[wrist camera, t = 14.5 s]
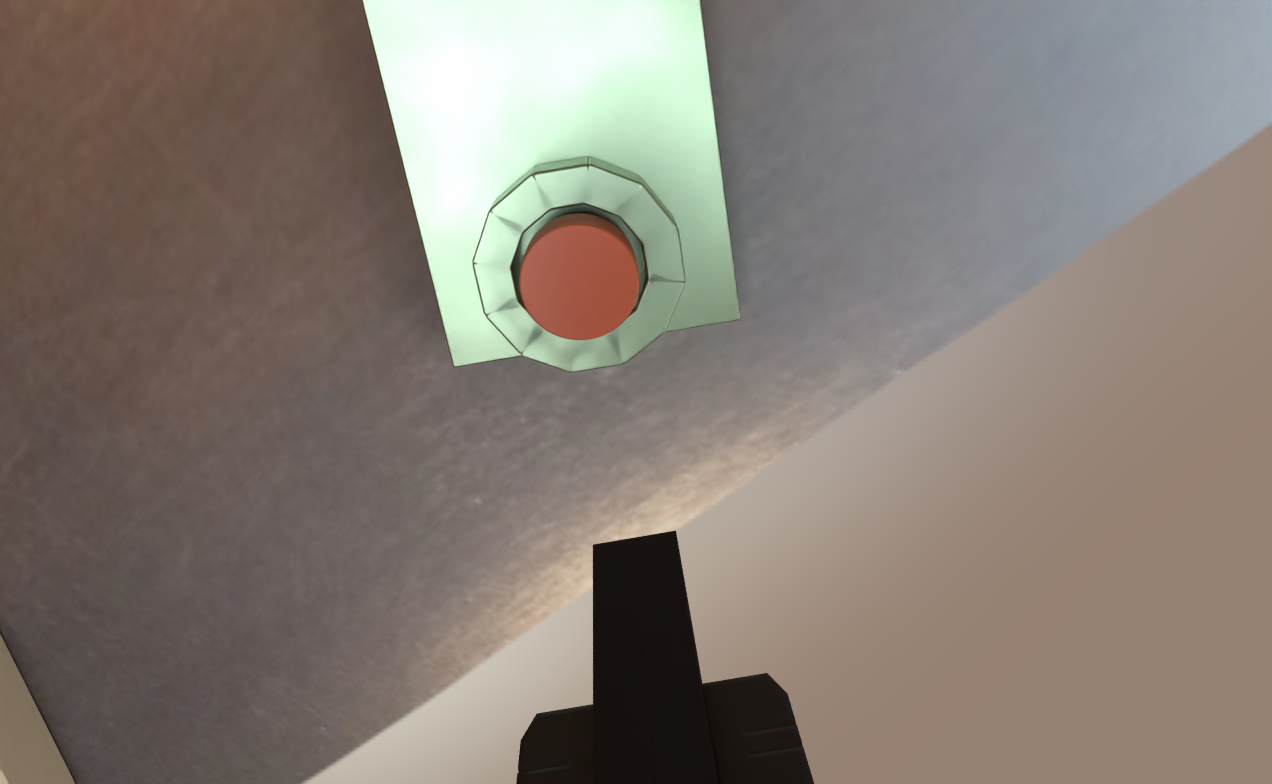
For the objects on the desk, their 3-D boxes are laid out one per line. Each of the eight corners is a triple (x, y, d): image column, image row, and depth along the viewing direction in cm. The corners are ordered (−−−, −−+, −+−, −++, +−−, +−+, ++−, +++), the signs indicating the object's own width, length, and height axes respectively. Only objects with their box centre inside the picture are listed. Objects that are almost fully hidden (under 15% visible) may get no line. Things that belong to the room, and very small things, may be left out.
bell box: (733, 308, 34) (750, 343, 30) (463, 353, 34) (446, 394, 30) (686, -60, 29) (699, -73, 26) (375, -6, 30) (343, -10, 26)
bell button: (644, 314, 30) (648, 330, 28) (535, 332, 30) (532, 349, 28) (626, 203, 29) (628, 214, 27) (512, 223, 29) (507, 235, 27)
